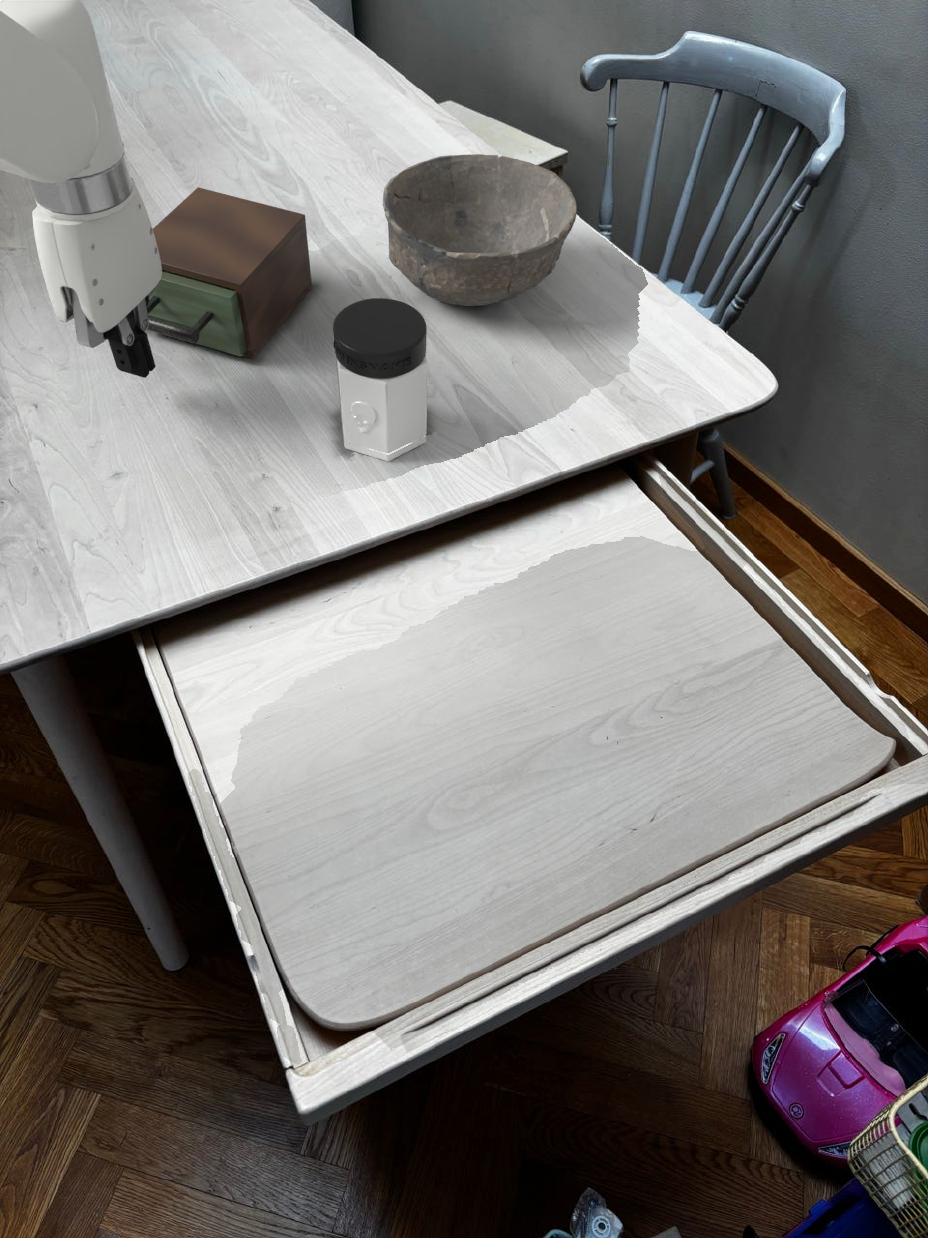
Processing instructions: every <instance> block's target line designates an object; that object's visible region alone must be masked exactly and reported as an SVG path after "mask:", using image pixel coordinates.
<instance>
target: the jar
mask: <svg viewBox="0 0 928 1238" xmlns="http://www.w3.org/2000/svg"><path fill="white" fill-rule="evenodd" d="M427 332H428V331H427V323H426V319H425V318H424V316H423V315H422V313H421V312H420V311H419V310H418V309H417V308H416V307H413V306H412V305H410V304H408V303H406V302H403V301H401V300H397V299H394V298H393V299H392V298H385V297H374V298H373V297H372V298H365V299H361V300H358V301H355V302H352V303H351V304H349V305H347V306H345V307H344V308H342V309H341V310H340V311H339V312H338V314H337V315H336V316H335V318H334V320H333V324H332V336H333V343H332V344H333V345H332V346H333V349H334V355H335V361H336V362H335V363H336V374H337V386H338V397H339V410H340V411H339V412H340V420H341V430H342V436H343V445H344V449H346V450H349V451H353V452H355V453H359V454H362V455H366V456H369V457H372V458H375V459H378V460H382V461H385V462H391V461H393V460H395V459H396V458H398V457H400V456H402V455H404V454H406V453H408V452H410V451H412V450H413V449H416V448H417V447H421V445H423V444H425V443H426V442H427V435H428V434H427V431H428V427H427V426H428V373H429V371H428V370H429V369H428V367H429V365H428V359H427V334H428V333H427ZM426 434H427V435H426ZM425 435H426V436H425ZM424 436H425V437H424ZM421 437H423V438H421ZM419 438H421V439H419ZM417 439H419V440H417ZM415 440H417V441H415ZM413 441H415V442H413ZM411 442H413V443H412V444H410V445H408V446H406V447H404V448H402V449H400V450H398V451H396V452H394V453H392V454H390V455H385V454H382V453H379V452H376V451H372V450H369V449H370V448H371V449H374V450H377V451H380V452H381V451H382V452H385V453H390V452H392V451H394V450H396V449H398V448H400V447H402V446H404V445H406V444H408V443H411ZM349 443H350V444H349ZM356 445H358V446H356ZM359 445H360V446H362V447H359ZM363 447H366V448H369V449H366V448H363Z"/></svg>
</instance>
